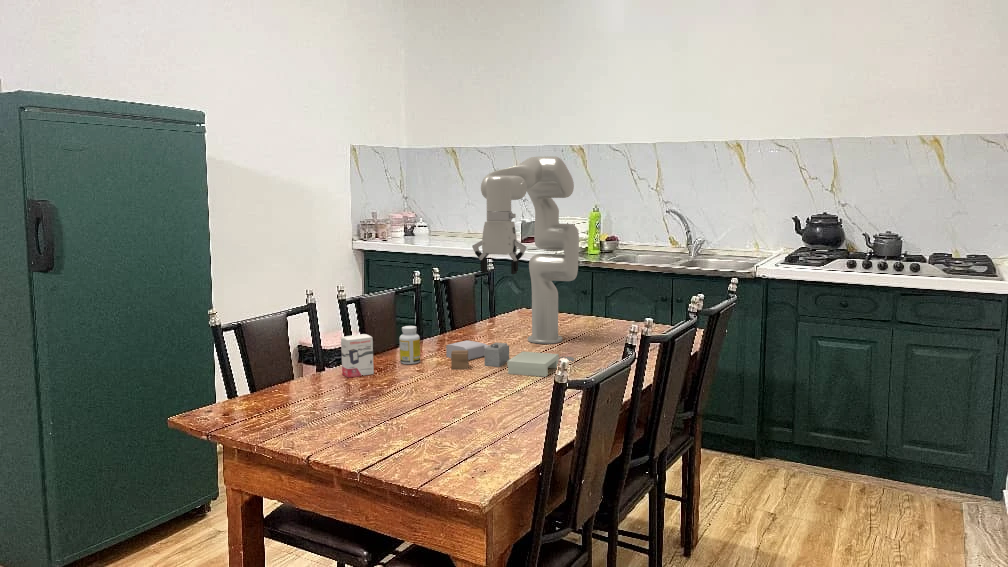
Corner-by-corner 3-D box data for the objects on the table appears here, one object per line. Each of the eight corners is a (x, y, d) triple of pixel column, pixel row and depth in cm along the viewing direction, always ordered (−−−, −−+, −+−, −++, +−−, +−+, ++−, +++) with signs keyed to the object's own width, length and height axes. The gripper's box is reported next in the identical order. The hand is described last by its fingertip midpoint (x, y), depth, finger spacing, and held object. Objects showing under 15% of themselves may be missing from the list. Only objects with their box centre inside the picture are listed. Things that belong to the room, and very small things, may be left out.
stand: (522, 363, 257) (522, 351, 256) (558, 366, 253) (558, 354, 252) (507, 373, 244) (507, 361, 243) (545, 377, 240) (545, 364, 239)
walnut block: (452, 365, 255) (452, 350, 254) (468, 365, 255) (468, 350, 254) (451, 369, 250) (451, 354, 249) (467, 369, 250) (467, 353, 249)
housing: (494, 360, 263) (494, 340, 262) (509, 361, 261) (509, 341, 260) (484, 366, 254) (484, 345, 254) (499, 367, 253) (499, 346, 252)
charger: (497, 354, 272) (466, 362, 261) (477, 350, 278) (446, 357, 267) (497, 340, 271) (465, 347, 260) (477, 336, 277) (446, 343, 266)
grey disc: (560, 359, 264) (560, 356, 264) (575, 360, 262) (575, 357, 262) (557, 362, 259) (557, 359, 259) (572, 363, 258) (572, 360, 257)
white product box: (348, 378, 241) (346, 339, 239) (341, 374, 245) (340, 336, 243) (374, 374, 245) (373, 336, 244) (367, 370, 249) (366, 333, 248)
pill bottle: (422, 360, 263) (421, 325, 261) (418, 365, 256) (417, 329, 255) (402, 360, 263) (401, 325, 262) (398, 364, 257) (397, 328, 255)
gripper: (529, 217, 245) (529, 272, 247) (477, 216, 251) (477, 270, 253) (521, 218, 238) (521, 275, 240) (467, 217, 244) (468, 273, 246)
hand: (499, 273), depth 246 cm, fingers open, 9 cm apart
